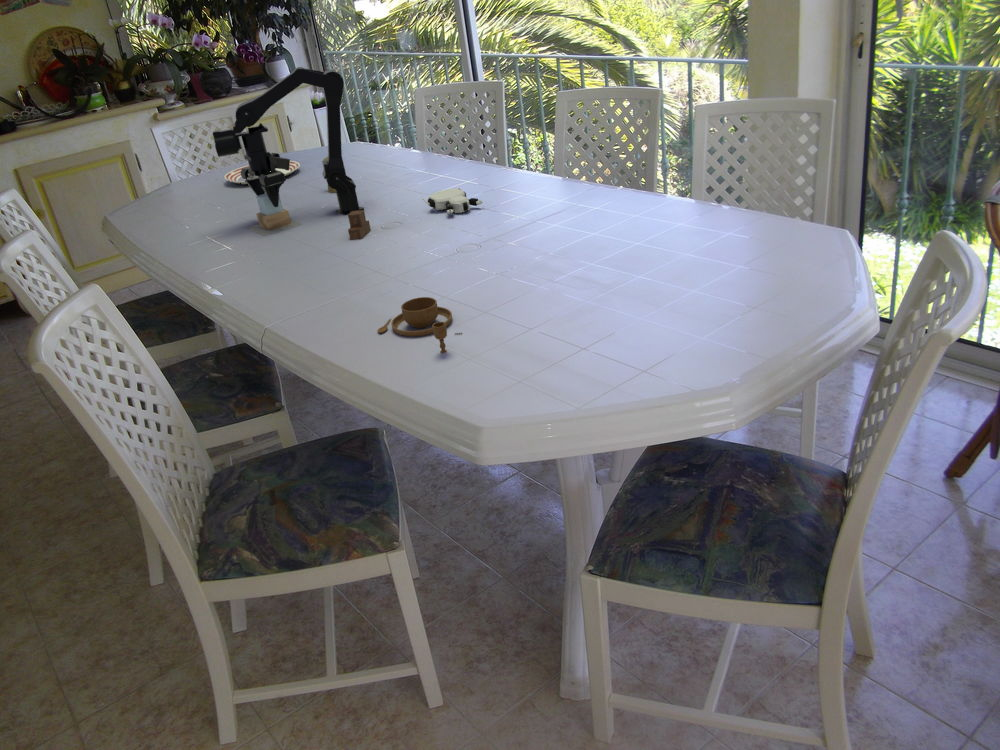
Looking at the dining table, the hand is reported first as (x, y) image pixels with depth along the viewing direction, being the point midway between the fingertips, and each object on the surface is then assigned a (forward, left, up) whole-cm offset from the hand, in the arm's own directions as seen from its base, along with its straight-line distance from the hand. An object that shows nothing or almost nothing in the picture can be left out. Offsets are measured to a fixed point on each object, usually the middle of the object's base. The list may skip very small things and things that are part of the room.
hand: (270, 204), depth 235 cm
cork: (+20, -30, -7) cm, 37 cm away
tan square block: (0, 0, -6) cm, 6 cm away
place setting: (-101, +14, -7) cm, 103 cm away
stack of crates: (-33, -12, -7) cm, 36 cm away
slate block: (0, 0, -2) cm, 2 cm away
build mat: (0, +1, -6) cm, 7 cm away
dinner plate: (+68, -24, -7) cm, 73 cm away
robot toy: (-37, -38, -7) cm, 54 cm away
